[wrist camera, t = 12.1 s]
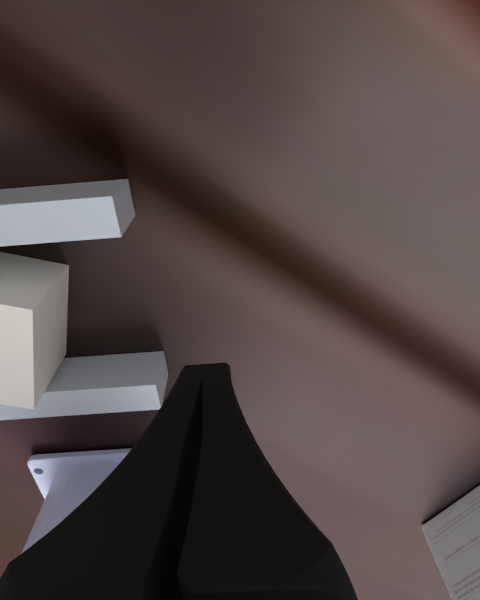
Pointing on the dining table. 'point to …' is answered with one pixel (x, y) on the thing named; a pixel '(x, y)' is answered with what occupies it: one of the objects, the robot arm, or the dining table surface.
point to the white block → (31, 326)
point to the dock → (72, 227)
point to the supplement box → (458, 546)
